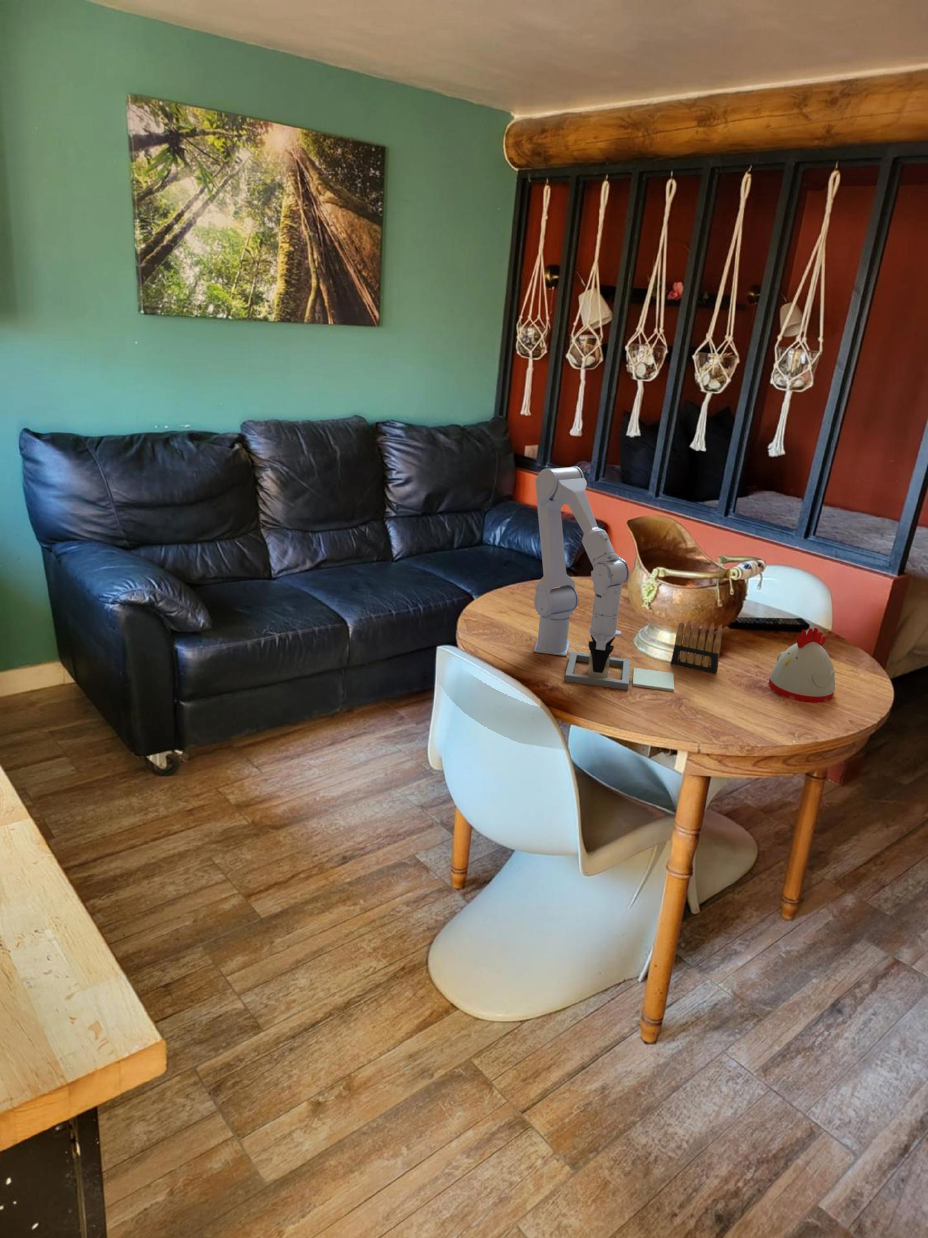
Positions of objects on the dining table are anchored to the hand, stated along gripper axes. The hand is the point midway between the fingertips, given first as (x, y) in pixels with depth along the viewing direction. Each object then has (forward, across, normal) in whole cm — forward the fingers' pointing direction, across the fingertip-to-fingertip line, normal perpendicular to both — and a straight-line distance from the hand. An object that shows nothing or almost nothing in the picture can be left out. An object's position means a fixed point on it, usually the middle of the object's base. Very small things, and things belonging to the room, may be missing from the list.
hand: (598, 667), depth 191 cm
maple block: (+1, 0, 0) cm, 1 cm away
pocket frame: (+1, 0, 0) cm, 1 cm away
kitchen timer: (+2, +6, -46) cm, 46 cm away
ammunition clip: (+2, +11, -22) cm, 25 cm away
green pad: (+1, 0, -12) cm, 13 cm away
